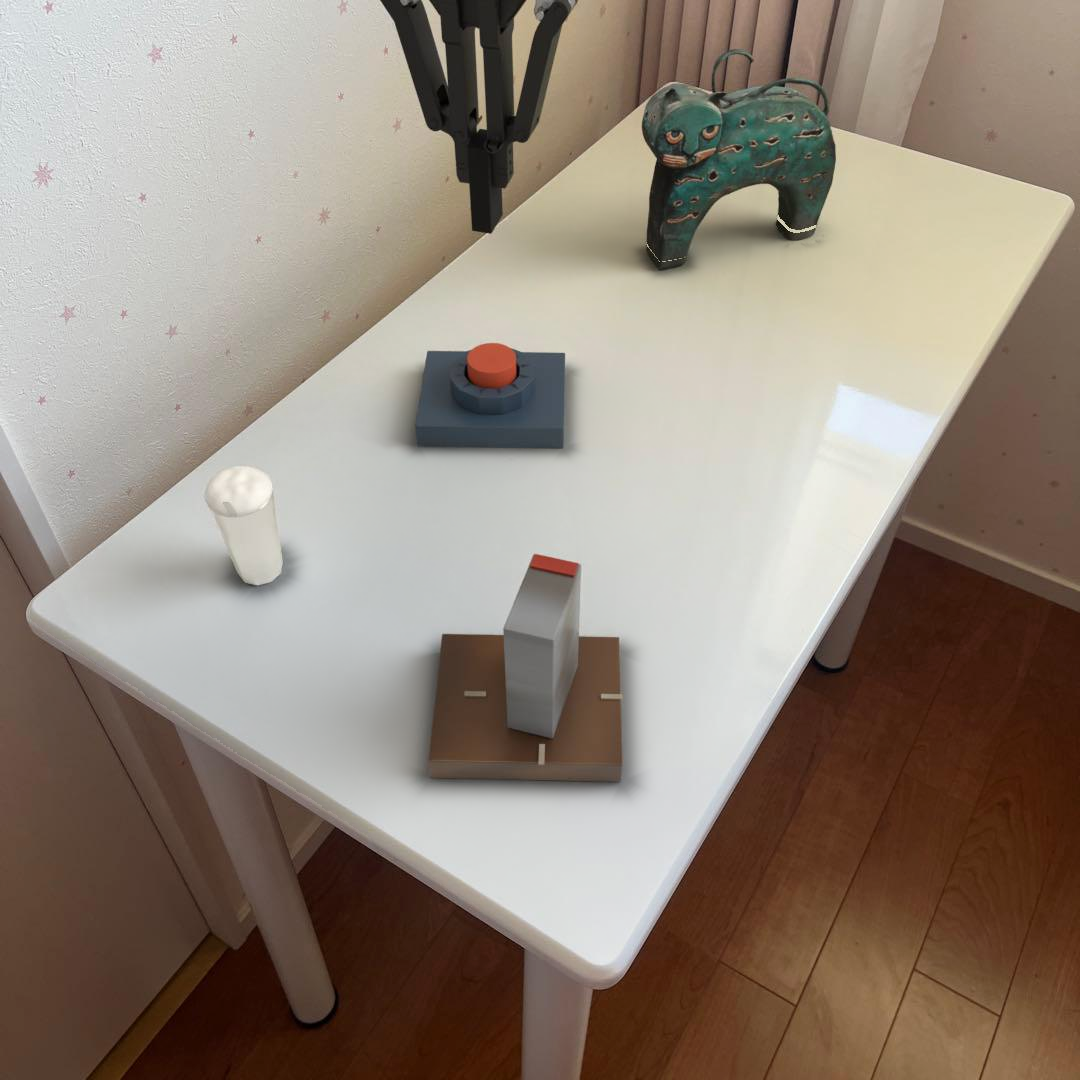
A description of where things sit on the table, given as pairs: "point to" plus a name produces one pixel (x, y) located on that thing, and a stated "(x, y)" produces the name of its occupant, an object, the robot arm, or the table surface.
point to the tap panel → (504, 753)
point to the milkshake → (247, 521)
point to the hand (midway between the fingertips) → (487, 222)
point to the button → (491, 365)
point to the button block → (492, 404)
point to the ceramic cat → (734, 156)
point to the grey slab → (542, 645)
